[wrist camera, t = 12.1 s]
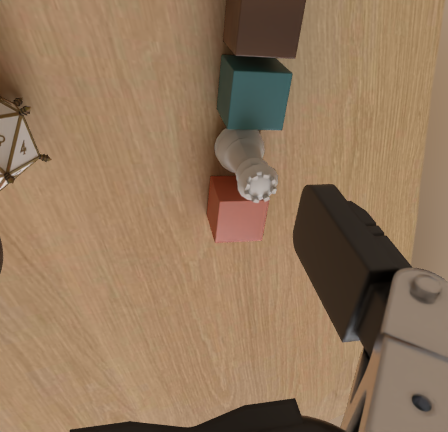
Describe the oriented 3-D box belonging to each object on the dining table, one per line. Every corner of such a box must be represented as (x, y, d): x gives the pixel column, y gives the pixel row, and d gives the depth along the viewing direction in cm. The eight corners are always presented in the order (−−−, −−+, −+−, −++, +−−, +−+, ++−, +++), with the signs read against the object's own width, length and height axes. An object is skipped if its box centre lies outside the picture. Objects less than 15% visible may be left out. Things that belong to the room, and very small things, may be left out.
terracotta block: (210, 175, 40) (219, 201, 37) (256, 175, 41) (269, 200, 38) (206, 215, 43) (215, 243, 39) (250, 214, 44) (262, 241, 40)
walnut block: (228, -25, 31) (243, -17, 27) (286, -19, 32) (308, -11, 28) (222, 41, 34) (235, 55, 30) (277, 44, 34) (295, 59, 31)
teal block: (221, 54, 34) (233, 70, 30) (275, 57, 35) (292, 73, 31) (216, 109, 37) (227, 129, 33) (266, 110, 38) (282, 130, 34)
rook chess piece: (207, 131, 38) (225, 174, 31) (255, 113, 38) (283, 154, 31) (221, 172, 40) (240, 221, 34) (265, 156, 40) (293, 202, 34)
